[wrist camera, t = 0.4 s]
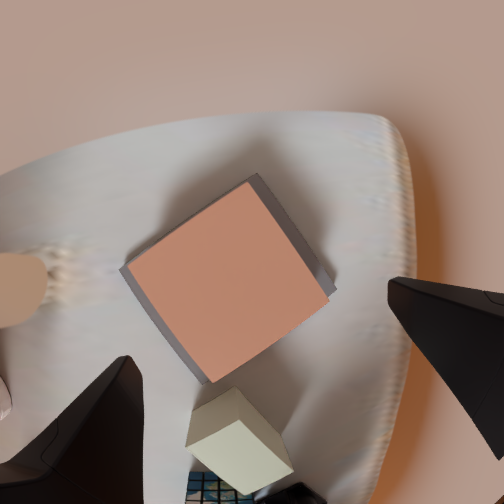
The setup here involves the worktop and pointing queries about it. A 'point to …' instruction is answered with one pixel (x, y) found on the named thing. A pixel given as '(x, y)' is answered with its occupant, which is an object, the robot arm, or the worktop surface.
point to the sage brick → (237, 443)
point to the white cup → (4, 400)
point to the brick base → (229, 280)
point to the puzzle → (213, 490)
